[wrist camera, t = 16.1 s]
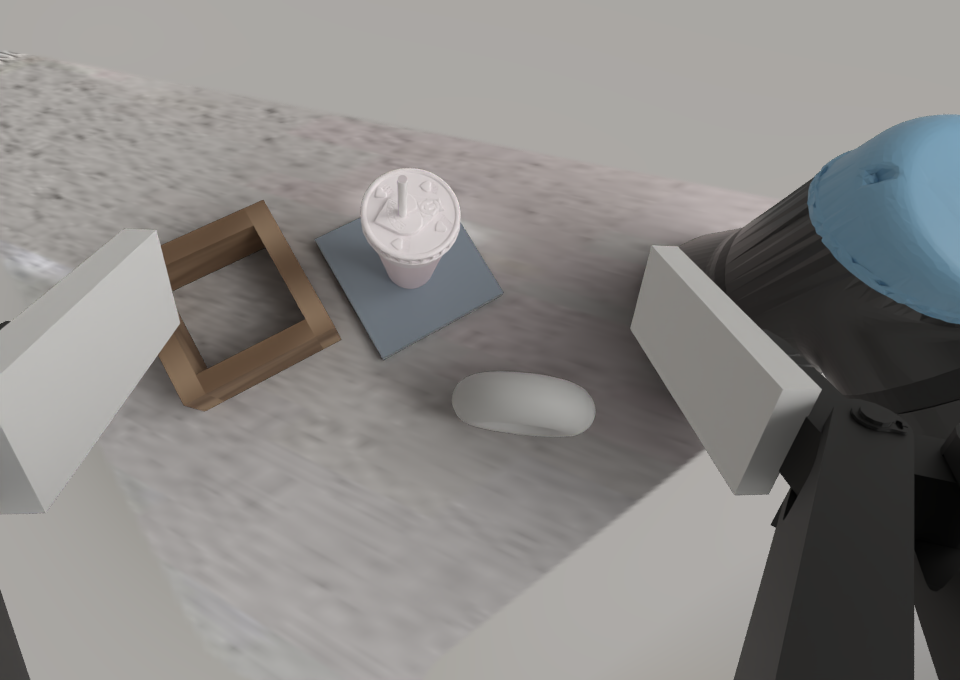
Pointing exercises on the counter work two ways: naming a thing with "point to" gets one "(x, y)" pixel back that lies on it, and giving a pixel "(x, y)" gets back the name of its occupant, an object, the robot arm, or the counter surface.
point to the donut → (523, 404)
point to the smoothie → (410, 223)
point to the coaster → (402, 311)
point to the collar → (265, 358)
